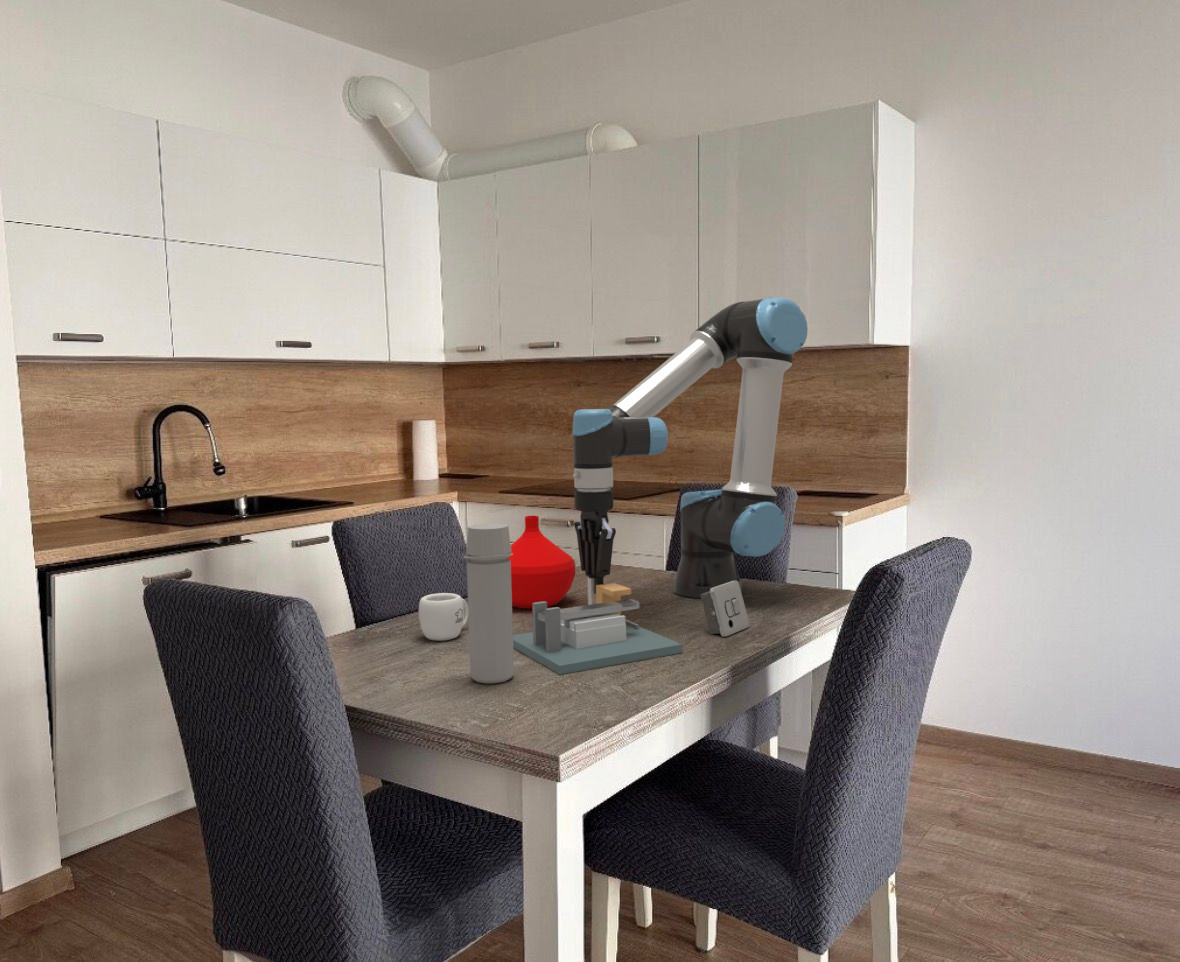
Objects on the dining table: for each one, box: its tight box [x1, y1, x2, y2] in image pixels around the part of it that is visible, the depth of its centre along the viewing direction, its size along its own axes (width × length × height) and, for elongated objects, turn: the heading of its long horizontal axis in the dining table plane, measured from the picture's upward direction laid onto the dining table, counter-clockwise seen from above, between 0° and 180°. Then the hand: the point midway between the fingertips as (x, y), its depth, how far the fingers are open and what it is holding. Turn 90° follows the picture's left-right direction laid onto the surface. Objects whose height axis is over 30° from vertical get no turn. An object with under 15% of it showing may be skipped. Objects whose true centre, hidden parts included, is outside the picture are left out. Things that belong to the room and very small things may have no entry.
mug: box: [418, 592, 469, 642], centre depth 184 cm, size 12×8×8 cm
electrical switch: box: [700, 581, 750, 638], centre depth 183 cm, size 9×5×9 cm, turn 141°
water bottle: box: [463, 522, 515, 685], centre depth 156 cm, size 9×8×25 cm
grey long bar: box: [537, 598, 640, 622], centre depth 172 cm, size 19×3×1 cm, turn 118°
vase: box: [507, 515, 576, 610], centre depth 208 cm, size 18×18×19 cm
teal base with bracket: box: [513, 601, 683, 675], centre depth 172 cm, size 24×22×9 cm
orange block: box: [596, 582, 632, 616], centre depth 181 cm, size 4×6×8 cm, turn 28°
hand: (596, 609), depth 188 cm, fingers closed
